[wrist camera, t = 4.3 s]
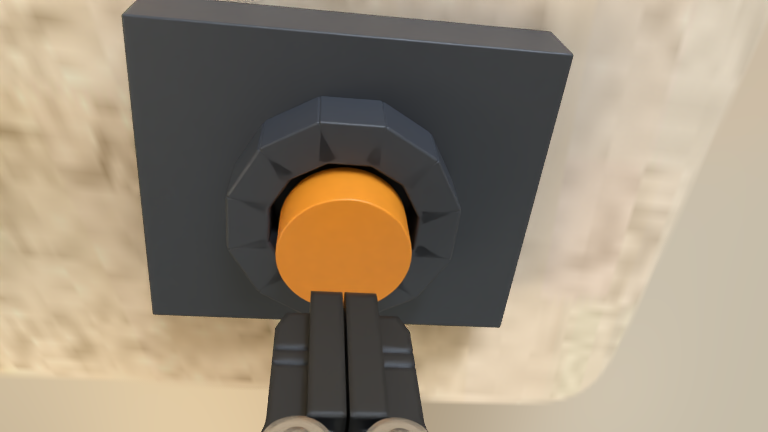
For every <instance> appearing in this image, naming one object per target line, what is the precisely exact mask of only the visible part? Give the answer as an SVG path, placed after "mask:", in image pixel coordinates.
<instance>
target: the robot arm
mask: <svg viewBox="0 0 768 432" xmlns="http://www.w3.org/2000/svg"><path fill="white" fill-rule="evenodd" d="M412 352H413V349H412V343H411V337H410V332H409V331H408V329H407V328H406V327H405V325H404V324H403V322H402V321H401V320H400V318H399V317H397V316H379V310H378V301H377V294H376V293H356V292H345V293H344V300H343V293H342V292H329V291H311V296H310V311H309V313H286V314H285V315H284V317H283V318H282V320H281V321H280V322H279V324H278V325H277V327H276V328H275V337H274V347H273V357H272V367H271V376H270V386H269V396H268V407H267V416H266V422H265V425H264V427H263V429H262V431H261V432H428V431H427V429H426V426H425V424H424V419H423V413H422V406H421V400H420V394H419V387H418V381H417V375H416V368H415V362H414V356H413V353H412Z"/></svg>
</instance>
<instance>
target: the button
mask: <svg viewBox="0 0 768 432" xmlns="http://www.w3.org/2000/svg"><path fill="white" fill-rule="evenodd" d="M275 256H276V264H277V268H278V271H279V273H280V275H281V277H282V279H283V281H284V282H285V283H286V285H287V286H288V287H289V288H290V289H291V290H292V291H293V292H294V293H295V294H297V295H298V296H299V297H301V298H302V299H304V300H306V301H308V302H310V296H311V291H329V292H342V293H343V300H344V293H345V292H356V293H376V294H377V301H380V300H382V299H383V298H385V297H387V296H388V295H389V294H391V293H392V292H393V291H394V290H395V289H396V288H397V287H398V286H399V285H400V284H401V282H402V281H403V279H404V278H405V276H406V274H407V272H408V270H409V267H410V263H411V258H412V248H411V241H410V235H409V230H408V224H407V219H406V213H405V209H404V205H403V203H402V200H401V198H400V197H399V195H398V193H397V192H396V191H395V190H394V188H393V187H392V186H391V185H390V184H388V183H387V182H386V181H385V180H383V179H382V178H380V177H379V176H377V175H375V174H373V173H370V172H368V171H365V170H361V169H357V168H350V167H338V168H330V169H325V170H322V171H319V172H316V173H314V174H312V175H310V176H308V177H306V178H305V179H303V180H302V181H300V182H299V183H298V184H297V185H296V186H295V187H294V188H293V189H292V190H291V191H290V192H289V194H288V195H287V197H286V199H285V201H284V203H283V205H282V209H281V212H280V220H279V228H278V235H277V243H276V252H275Z"/></svg>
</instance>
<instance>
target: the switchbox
mask: <svg viewBox="0 0 768 432" xmlns="http://www.w3.org/2000/svg"><path fill="white" fill-rule="evenodd" d="M122 24H123V34H124V43H125V53H126V62H127V72H128V81H129V91H130V100H131V110H132V119H133V129H134V138H135V148H136V157H137V167H138V177H139V186H140V196H141V205H142V215H143V224H144V234H145V243H146V253H147V262H148V272H149V281H150V291H151V300H152V310H153V314H154V315H179V316H205V317H232V318H258V319H282V318H283V317H284V315H285V314H286V313H309V311H310V302H308V301H306V300H304V299H302V298H301V297H299V296H298V295H297V294H295V293H294V292H293V291H292V290H291V289H290V288H289V287H288V286H287V285H286V283H285V282H284V281H283V279H282V277H281V275H280V273H279V271H278V268H277V264H276V256H275V252H276V243H277V235H278V228H279V220H280V212H281V209H282V205H283V203H284V201H285V199H286V197H287V195H288V194H289V192H290V191H291V190H292V189H293V188H294V187H295V186H296V185H297V184H298V183H299V182H300V181H302V180H303V179H305V178H306V177H308V176H310V175H312V174H314V173H316V172H319V171H322V170H325V169H330V168H338V167H350V168H357V169H361V170H365V171H368V172H370V173H373V174H375V175H377V176H379V177H380V178H382V179H383V180H385V181H386V182H387V183H388V184H390V185H391V186H392V187H393V188H394V190H395V191H396V192H397V193H398V195H399V197H400V198H401V200H402V203H403V205H404V209H405V213H406V219H407V224H408V230H409V235H410V241H411V248H412V258H411V263H410V267H409V270H408V272H407V274H406V276H405V278H404V279H403V281H402V282H401V284H400V285H399V286H398V287H397V288H396V289H395V290H394V291H393V292H392V293H391V294H389V295H388V296H387V297H385V298H383V299H382V300H380V301H378V310H379V316H397V317H399V318H400V320H401V321H402V322H403V324H417V325H444V326H470V327H497V328H499V327H500V325H501V321H502V318H503V314H504V310H505V307H506V303H507V299H508V296H509V292H510V288H511V284H512V281H513V277H514V273H515V270H516V266H517V262H518V259H519V255H520V251H521V248H522V244H523V240H524V236H525V233H526V229H527V225H528V222H529V218H530V214H531V211H532V207H533V203H534V199H535V196H536V192H537V188H538V185H539V181H540V177H541V174H542V170H543V166H544V162H545V159H546V155H547V151H548V148H549V144H550V140H551V137H552V133H553V129H554V125H555V122H556V118H557V114H558V111H559V107H560V103H561V100H562V96H563V92H564V88H565V85H566V81H567V77H568V74H569V70H570V66H571V63H572V59H573V54H572V53H571V52H570V51H569V50H568V49H567V48H566V47H565V46H564V45H563V44H562V43H561V42H560V41H559V40H558V39H557V37H556V36H555V35H554V34H553V33H552V32H549V31H538V30H527V29H516V28H506V27H495V26H484V25H473V24H463V23H452V22H441V21H430V20H420V19H409V18H398V17H387V16H377V15H366V14H355V13H344V12H334V11H323V10H312V9H301V8H291V7H280V6H269V5H259V4H248V3H237V2H226V1H216V0H136V1H135V2H134V3H133V4H132V5H131V6H130V7H129V8H128V9H127V10H126V11H125V12H124V13H123V14H122Z"/></svg>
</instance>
